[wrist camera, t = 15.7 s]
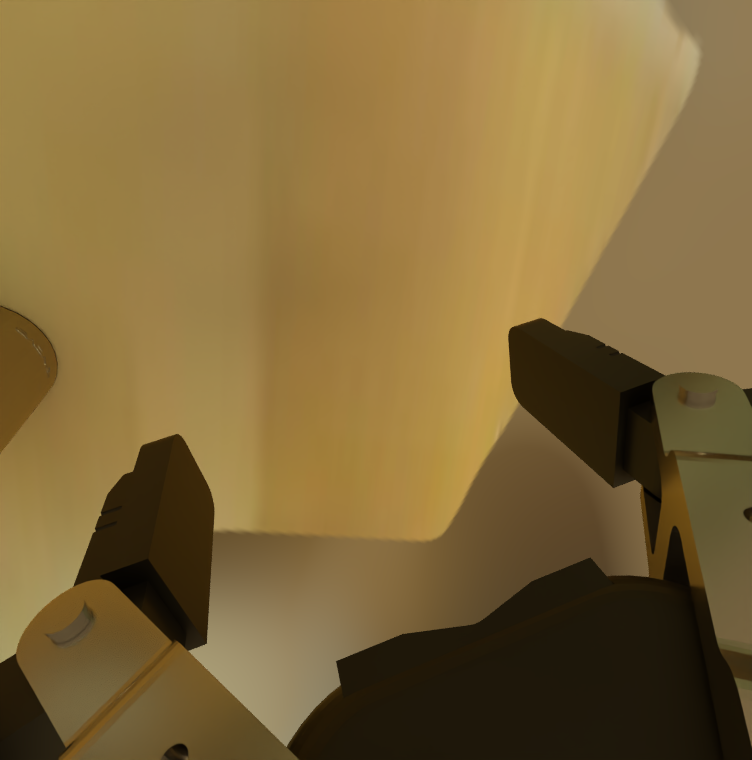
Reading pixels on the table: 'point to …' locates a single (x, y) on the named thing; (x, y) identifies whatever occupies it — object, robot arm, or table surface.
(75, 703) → the robot arm
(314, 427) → the table surface
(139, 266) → the table surface
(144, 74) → the table surface
